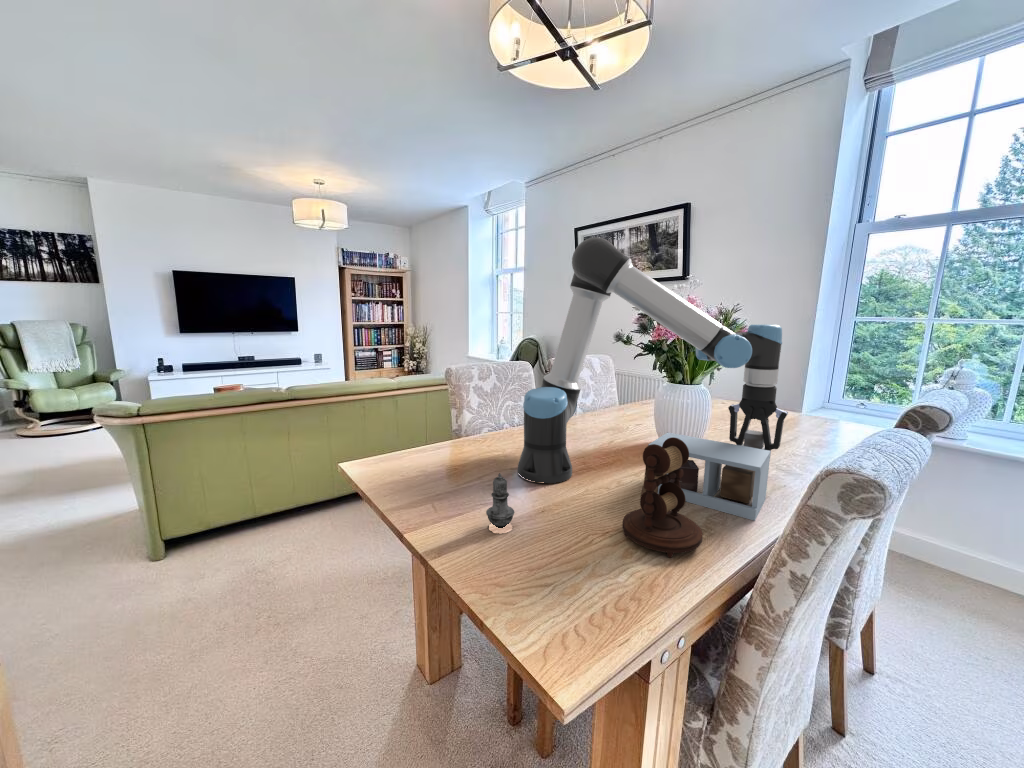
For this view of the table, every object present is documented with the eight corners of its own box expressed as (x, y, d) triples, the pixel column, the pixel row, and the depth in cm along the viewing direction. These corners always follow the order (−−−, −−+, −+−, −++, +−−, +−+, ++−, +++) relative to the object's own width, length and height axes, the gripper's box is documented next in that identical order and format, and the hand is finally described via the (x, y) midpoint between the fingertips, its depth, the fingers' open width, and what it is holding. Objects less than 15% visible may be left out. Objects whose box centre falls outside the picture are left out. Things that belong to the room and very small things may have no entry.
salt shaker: (504, 538, 81) (504, 481, 79) (480, 530, 84) (479, 475, 82) (519, 525, 86) (519, 471, 84) (496, 518, 89) (496, 465, 87)
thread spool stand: (649, 512, 91) (653, 426, 87) (715, 541, 79) (724, 442, 76) (607, 535, 82) (610, 439, 78) (675, 570, 70) (683, 460, 67)
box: (697, 497, 98) (699, 468, 97) (671, 495, 99) (672, 466, 98) (691, 486, 104) (693, 459, 103) (666, 485, 105) (668, 458, 104)
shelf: (645, 490, 102) (648, 444, 100) (665, 474, 112) (667, 432, 110) (754, 520, 87) (760, 467, 85) (765, 498, 97) (771, 450, 95)
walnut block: (719, 496, 97) (724, 448, 95) (740, 470, 113) (743, 428, 111) (748, 503, 93) (753, 453, 91) (764, 476, 109) (769, 433, 107)
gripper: (801, 385, 103) (791, 473, 107) (727, 379, 114) (720, 458, 118) (797, 390, 97) (787, 482, 101) (720, 382, 108) (713, 466, 112)
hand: (751, 469), depth 109 cm, fingers closed on walnut block, 4 cm apart
